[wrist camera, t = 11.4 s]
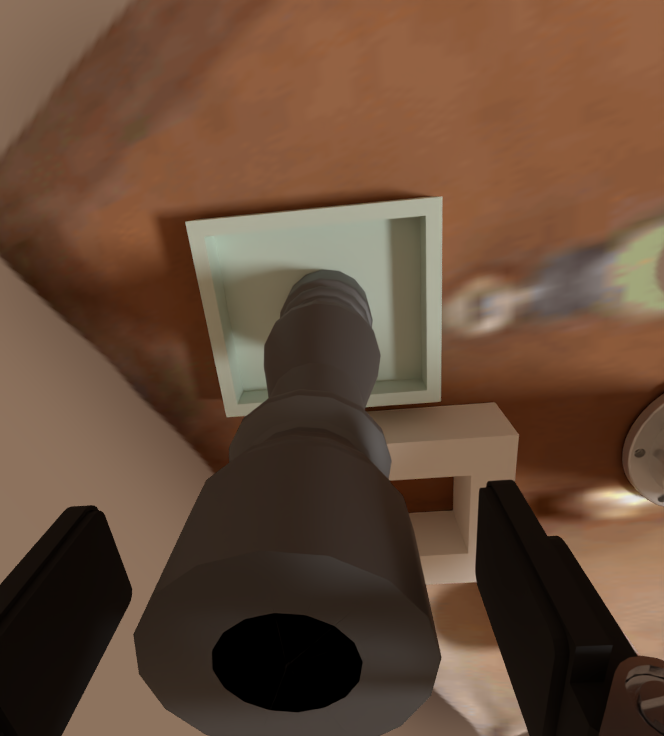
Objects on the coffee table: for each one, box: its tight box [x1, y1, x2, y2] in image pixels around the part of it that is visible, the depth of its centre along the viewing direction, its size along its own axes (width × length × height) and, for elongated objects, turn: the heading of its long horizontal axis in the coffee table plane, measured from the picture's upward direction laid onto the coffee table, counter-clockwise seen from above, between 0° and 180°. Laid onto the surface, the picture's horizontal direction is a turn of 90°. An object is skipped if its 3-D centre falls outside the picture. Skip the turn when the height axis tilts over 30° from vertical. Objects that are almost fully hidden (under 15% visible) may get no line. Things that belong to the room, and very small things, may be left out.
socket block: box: [367, 402, 519, 585], centre depth 35 cm, size 14×14×5 cm
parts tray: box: [185, 196, 442, 417], centre depth 30 cm, size 16×14×3 cm
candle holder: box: [134, 269, 441, 736], centre depth 19 cm, size 6×6×25 cm
